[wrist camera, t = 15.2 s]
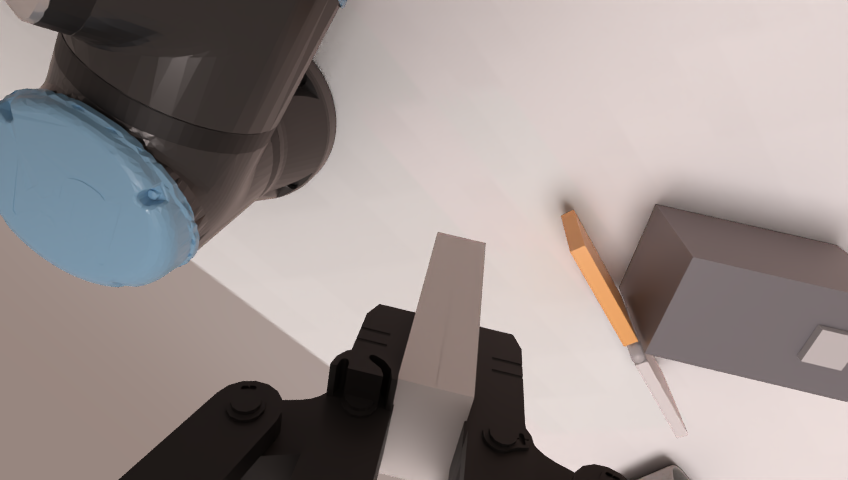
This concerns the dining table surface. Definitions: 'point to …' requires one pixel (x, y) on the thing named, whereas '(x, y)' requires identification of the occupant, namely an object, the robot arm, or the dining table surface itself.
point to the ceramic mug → (667, 474)
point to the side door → (620, 318)
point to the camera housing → (741, 301)
